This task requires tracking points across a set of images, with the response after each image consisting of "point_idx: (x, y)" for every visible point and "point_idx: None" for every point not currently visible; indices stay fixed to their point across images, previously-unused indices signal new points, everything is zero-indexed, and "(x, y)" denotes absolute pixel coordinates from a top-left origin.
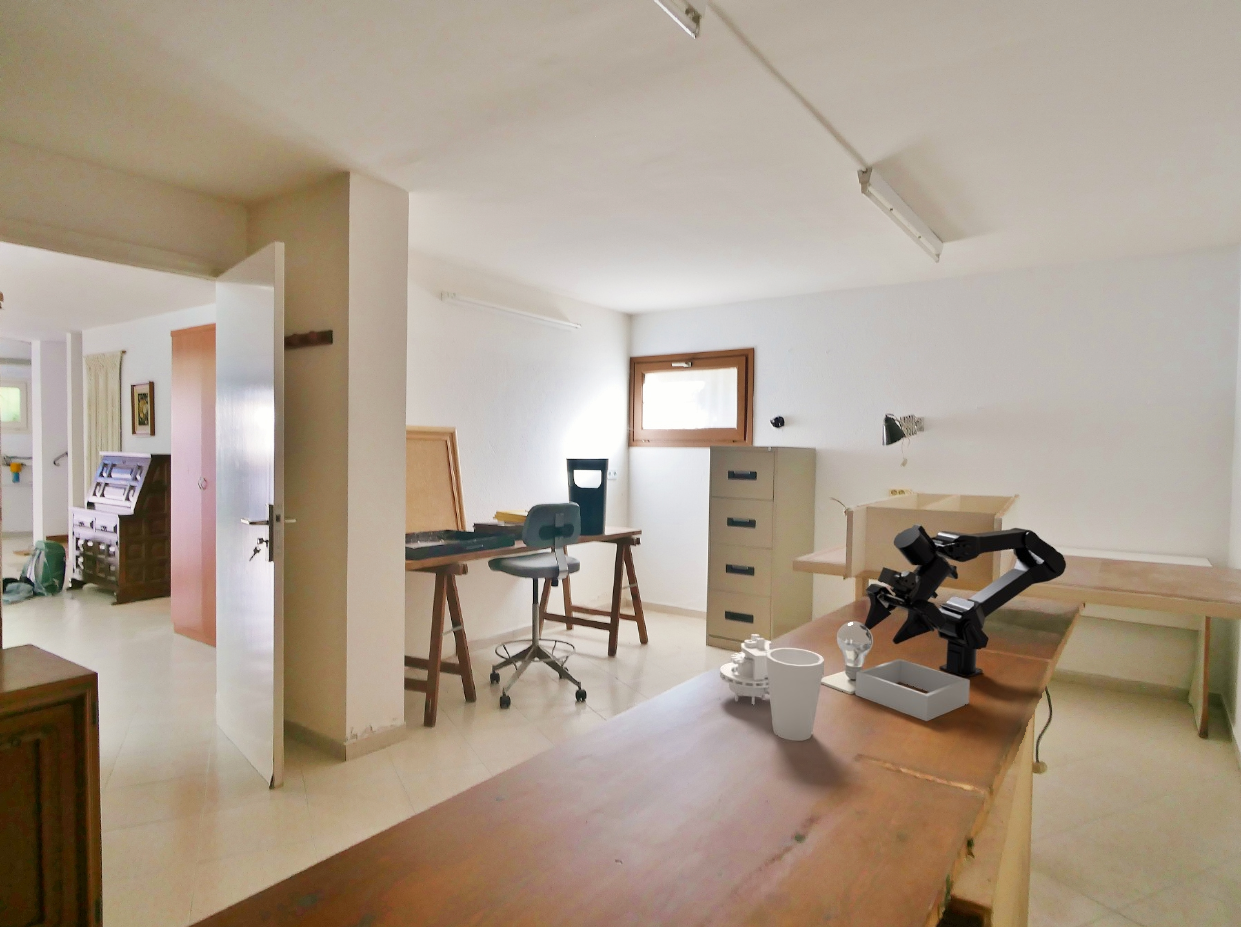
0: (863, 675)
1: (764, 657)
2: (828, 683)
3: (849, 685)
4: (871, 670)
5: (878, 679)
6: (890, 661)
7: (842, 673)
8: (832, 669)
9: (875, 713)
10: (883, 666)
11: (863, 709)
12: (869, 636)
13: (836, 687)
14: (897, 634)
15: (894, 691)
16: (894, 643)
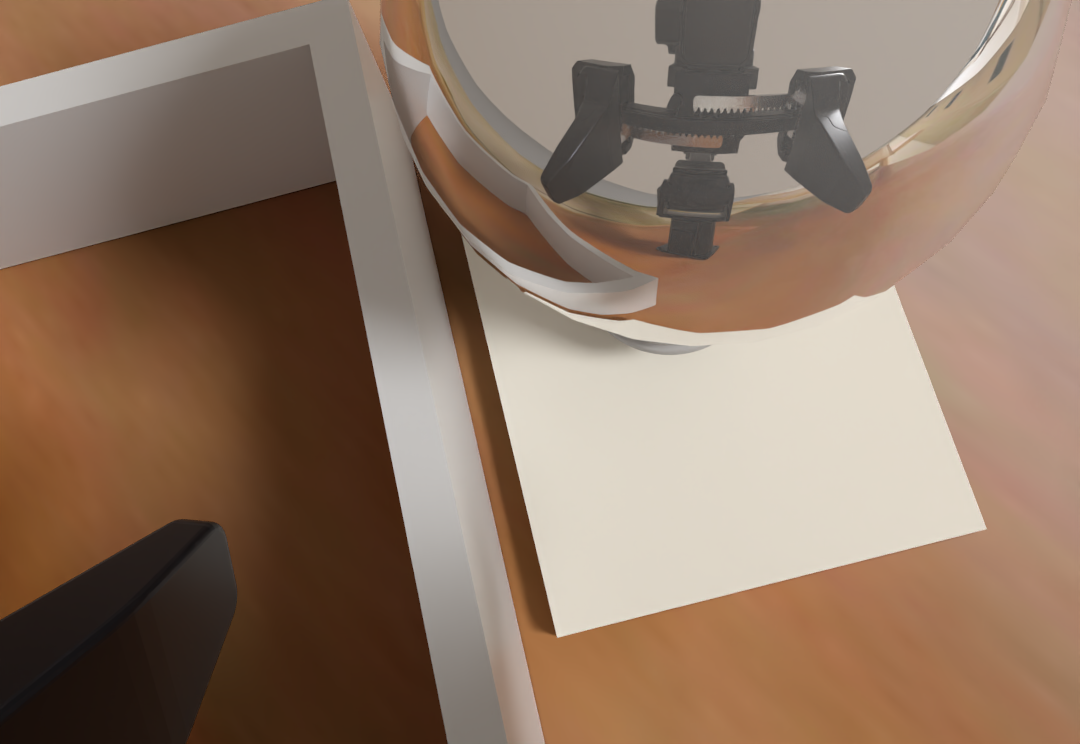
0: (259, 22)
1: None
2: None
3: None
4: (341, 200)
5: (81, 67)
6: (486, 663)
7: (865, 313)
8: (1072, 351)
9: (68, 46)
10: (388, 434)
11: (160, 12)
12: (389, 39)
13: None
14: (67, 605)
15: None
16: (232, 580)
